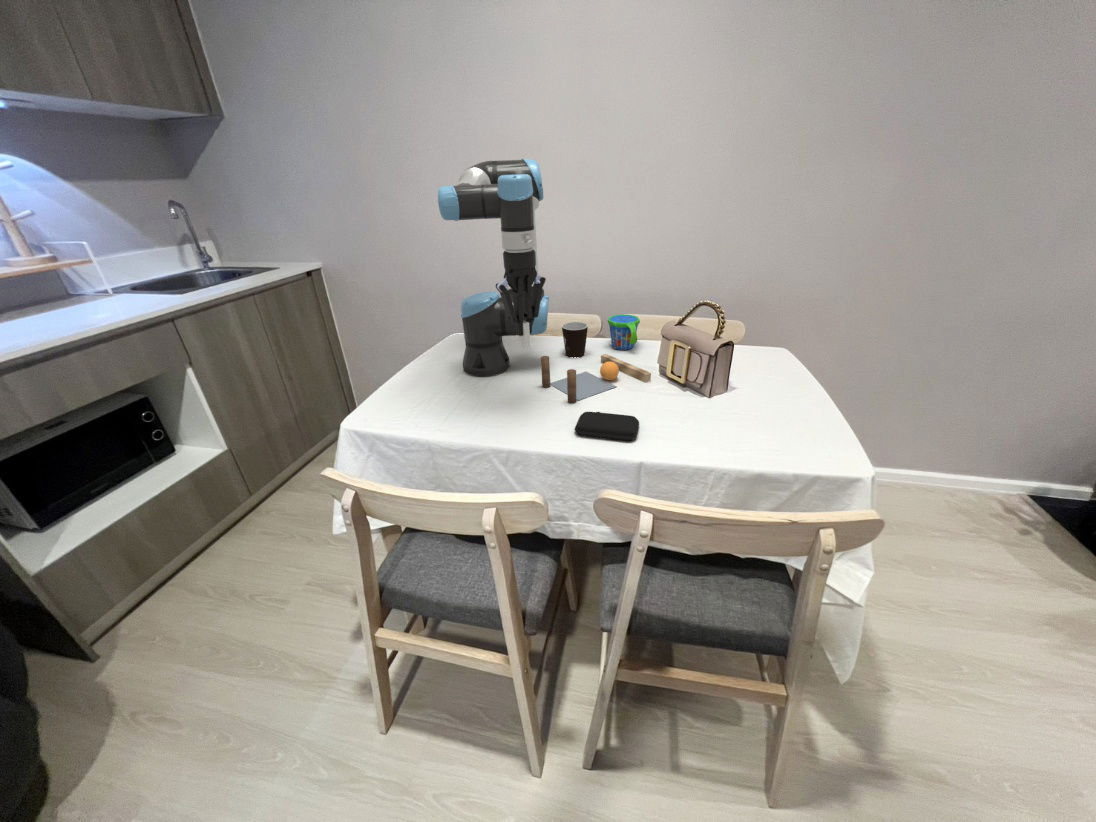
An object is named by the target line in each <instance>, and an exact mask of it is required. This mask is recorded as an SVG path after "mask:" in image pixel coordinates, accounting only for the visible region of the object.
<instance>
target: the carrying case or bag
mask: <svg viewBox="0 0 1096 822" xmlns="http://www.w3.org/2000/svg"><path fill="white" fill-rule="evenodd" d="M639 426H640V421H639V420H638V419H637V417H636V416H633V415H628V414H618V413H608V412H600V411H584V412H583V413H581V414H580V415H579V418H578V420H577V421H576V424H575V426H574V432H575V433H576V434H577V435H578V436H580V437H587V438H592V439H593V438H595V439H603V440H612V441H619V442H620V441H621V442H631V441H634V440H635V439H636V438H637V437H638V432H639V428H640V427H639Z"/></svg>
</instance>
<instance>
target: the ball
mask: <svg viewBox="0 0 1096 822" xmlns="http://www.w3.org/2000/svg"><path fill="white" fill-rule="evenodd" d="M619 373H620V371H619V368H618V366H617V365H616V364H615V363H614V362H605V363H604V364H603V363H602V364H601V366H600V368H599V374H600V376H601V378H602V379H603V380H605V381H613V380H615V379H616V378H617V377H618V376H619Z"/></svg>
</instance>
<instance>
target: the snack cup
mask: <svg viewBox="0 0 1096 822" xmlns="http://www.w3.org/2000/svg"><path fill="white" fill-rule="evenodd" d="M607 323H608V325H609V335H610V342H611V346H612V348H613V349H616V350H621V351H627V350H630V349H632V348H633V347H634V346H635V344H637V342H638V334H637V333H638V327H639V324H641V319H640V318H639V317H638V316H636V315H633V314H623V313H622V314H615V315H614V314H613V315H612V316H611V315H610V316H609V317H608V319H607Z"/></svg>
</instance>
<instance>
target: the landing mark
mask: <svg viewBox="0 0 1096 822" xmlns="http://www.w3.org/2000/svg"><path fill="white" fill-rule="evenodd" d="M550 386H552V387H554V388H555V389H557V390H558V391H561V392H562V393H564V394H566V395H567V377H564V378H562V379H558V380H555V381H552V382H550ZM615 388H617V385H615V384H613V383H611V382H609V381H608V380H606V379H604V378H602V377H598V376H596V375H594V374H592V373H590V372H589V371H583V372H580V373H576V402H577V401H578V402H579V401H581V400H585V399H587V398H589V397H593V396H596V395H598V394H601V393H605V392H607V391H610V390H612V389H615Z"/></svg>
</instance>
